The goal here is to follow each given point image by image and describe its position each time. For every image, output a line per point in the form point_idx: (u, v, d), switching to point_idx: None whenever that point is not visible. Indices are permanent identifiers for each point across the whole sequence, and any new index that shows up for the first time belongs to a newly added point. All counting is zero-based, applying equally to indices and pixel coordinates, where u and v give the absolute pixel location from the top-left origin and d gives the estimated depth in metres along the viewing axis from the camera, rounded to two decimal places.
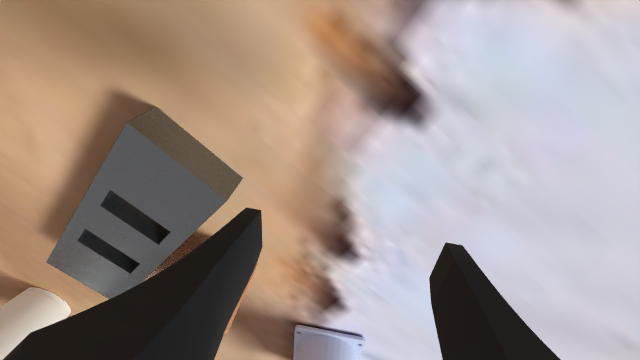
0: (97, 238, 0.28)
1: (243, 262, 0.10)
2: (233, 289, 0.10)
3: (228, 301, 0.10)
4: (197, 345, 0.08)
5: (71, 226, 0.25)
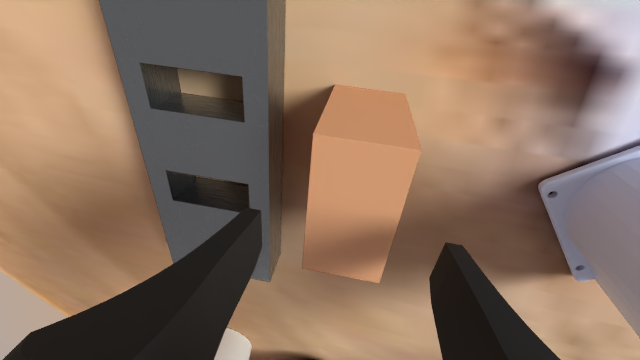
0: (195, 193, 0.20)
1: (243, 262, 0.10)
2: (233, 289, 0.10)
3: (228, 301, 0.10)
4: (197, 345, 0.08)
5: (154, 179, 0.19)
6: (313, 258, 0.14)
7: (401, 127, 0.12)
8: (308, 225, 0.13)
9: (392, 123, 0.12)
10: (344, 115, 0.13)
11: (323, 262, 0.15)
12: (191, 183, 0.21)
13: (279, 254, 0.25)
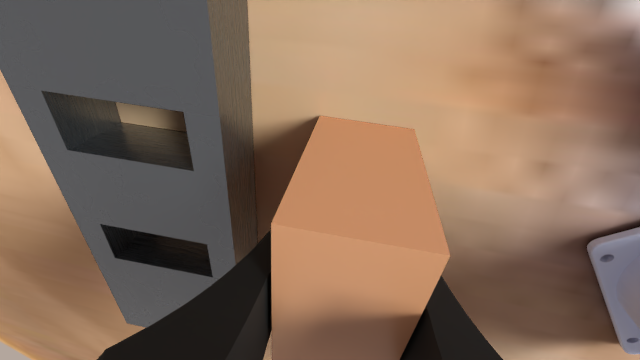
0: (146, 245, 0.16)
1: None
2: None
3: None
4: (251, 357, 0.08)
5: (87, 233, 0.14)
6: None
7: (413, 197, 0.08)
8: (275, 333, 0.09)
9: (400, 189, 0.08)
10: (327, 176, 0.08)
11: None
12: None
13: None
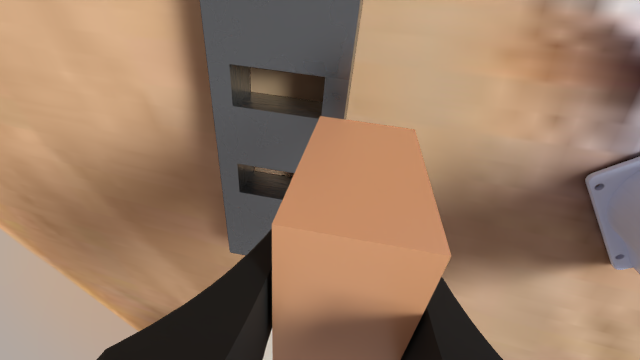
0: (258, 185, 0.22)
1: None
2: None
3: None
4: (251, 357, 0.08)
5: (224, 172, 0.20)
6: None
7: (414, 198, 0.08)
8: (276, 333, 0.09)
9: (400, 189, 0.08)
10: (327, 176, 0.08)
11: None
12: (251, 177, 0.23)
13: None
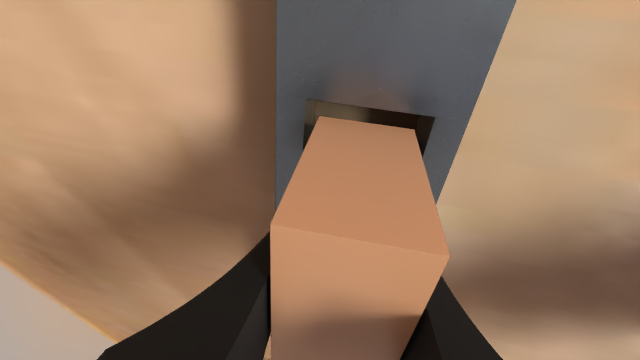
0: None
1: None
2: None
3: None
4: (252, 357, 0.08)
5: None
6: None
7: (413, 198, 0.08)
8: (275, 334, 0.09)
9: (399, 189, 0.08)
10: (326, 176, 0.08)
11: None
12: None
13: None
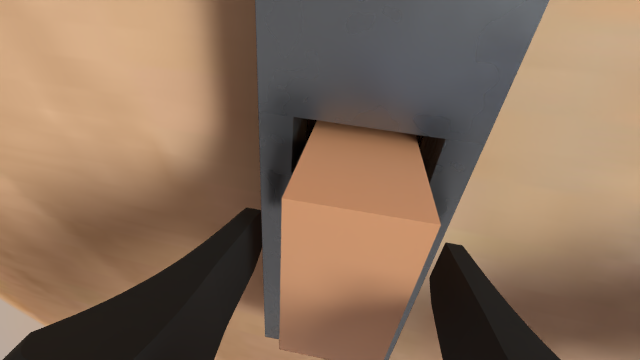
0: None
1: (243, 262, 0.10)
2: (233, 289, 0.10)
3: (228, 301, 0.10)
4: (197, 345, 0.08)
5: (268, 251, 0.15)
6: (293, 340, 0.11)
7: (409, 178, 0.09)
8: (283, 305, 0.10)
9: (397, 171, 0.09)
10: (330, 160, 0.09)
11: (306, 345, 0.11)
12: None
13: None
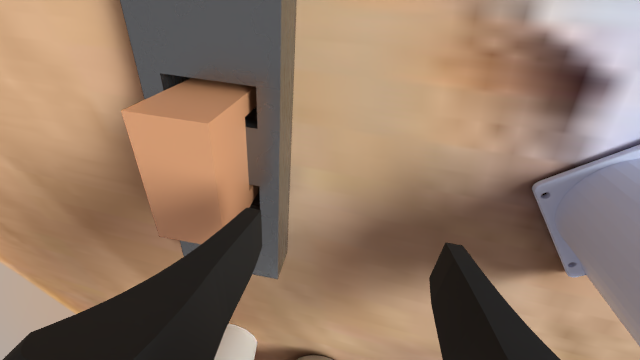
0: None
1: (243, 262, 0.10)
2: (233, 289, 0.10)
3: (228, 301, 0.10)
4: (197, 345, 0.08)
5: None
6: (164, 226, 0.16)
7: (216, 106, 0.14)
8: (148, 195, 0.15)
9: (212, 103, 0.14)
10: (172, 97, 0.15)
11: (174, 230, 0.16)
12: None
13: (286, 252, 0.26)
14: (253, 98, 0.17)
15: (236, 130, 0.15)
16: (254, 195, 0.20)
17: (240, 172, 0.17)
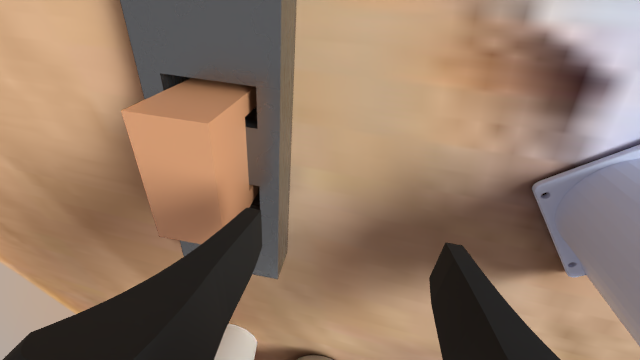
0: None
1: (243, 262, 0.10)
2: (233, 289, 0.10)
3: (228, 301, 0.10)
4: (197, 345, 0.08)
5: None
6: (164, 226, 0.16)
7: (216, 106, 0.14)
8: (148, 195, 0.15)
9: (212, 103, 0.14)
10: (172, 97, 0.15)
11: (174, 230, 0.16)
12: None
13: (286, 252, 0.26)
14: (253, 98, 0.17)
15: (236, 130, 0.15)
16: (254, 195, 0.20)
17: (240, 172, 0.17)
